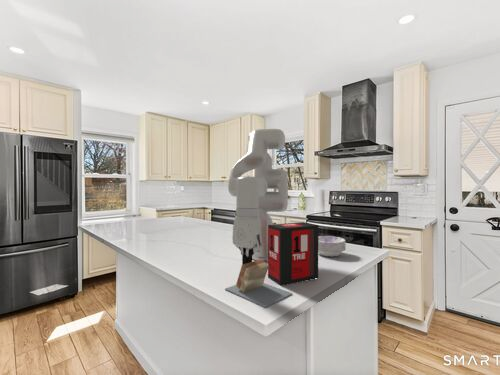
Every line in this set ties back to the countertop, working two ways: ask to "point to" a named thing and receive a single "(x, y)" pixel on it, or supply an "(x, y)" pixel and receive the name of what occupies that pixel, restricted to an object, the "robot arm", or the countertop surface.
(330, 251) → the paper bowls
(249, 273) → the brown block
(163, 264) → the countertop surface
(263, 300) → the mat
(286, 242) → the cleaning product box
